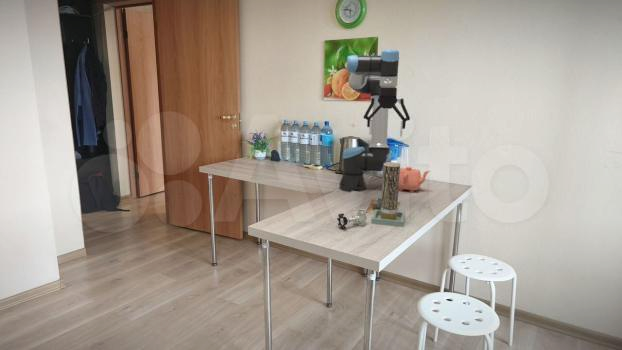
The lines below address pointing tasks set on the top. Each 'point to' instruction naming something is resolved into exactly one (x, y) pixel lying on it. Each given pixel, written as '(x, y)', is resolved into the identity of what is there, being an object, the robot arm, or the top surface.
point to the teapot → (410, 179)
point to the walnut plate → (374, 205)
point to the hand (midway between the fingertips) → (385, 135)
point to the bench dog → (379, 204)
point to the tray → (387, 221)
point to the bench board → (374, 210)
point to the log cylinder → (390, 190)
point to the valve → (353, 219)
